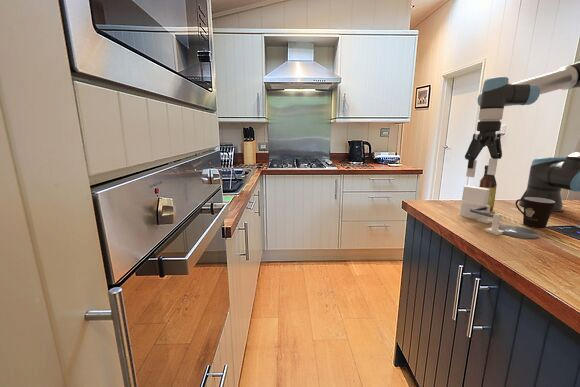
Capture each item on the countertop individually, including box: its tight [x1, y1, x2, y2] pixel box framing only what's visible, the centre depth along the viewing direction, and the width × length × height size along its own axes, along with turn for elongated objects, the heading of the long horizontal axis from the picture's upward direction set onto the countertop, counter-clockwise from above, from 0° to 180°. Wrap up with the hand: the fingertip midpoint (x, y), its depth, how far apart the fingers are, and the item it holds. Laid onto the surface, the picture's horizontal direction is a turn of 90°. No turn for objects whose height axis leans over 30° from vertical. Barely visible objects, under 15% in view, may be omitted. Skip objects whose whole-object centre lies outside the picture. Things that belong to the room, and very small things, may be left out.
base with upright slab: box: [459, 185, 490, 220], centre depth 116 cm, size 9×9×12 cm
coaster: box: [499, 224, 540, 240], centre depth 98 cm, size 12×12×1 cm
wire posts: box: [475, 205, 504, 236], centre depth 103 cm, size 18×6×6 cm, turn 159°
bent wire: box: [470, 207, 495, 219], centre depth 103 cm, size 10×10×1 cm
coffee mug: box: [515, 197, 555, 230], centre depth 106 cm, size 12×9×10 cm
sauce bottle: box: [479, 164, 498, 212], centre depth 124 cm, size 6×6×20 cm
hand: (480, 175), depth 112 cm, fingers open, 13 cm apart
